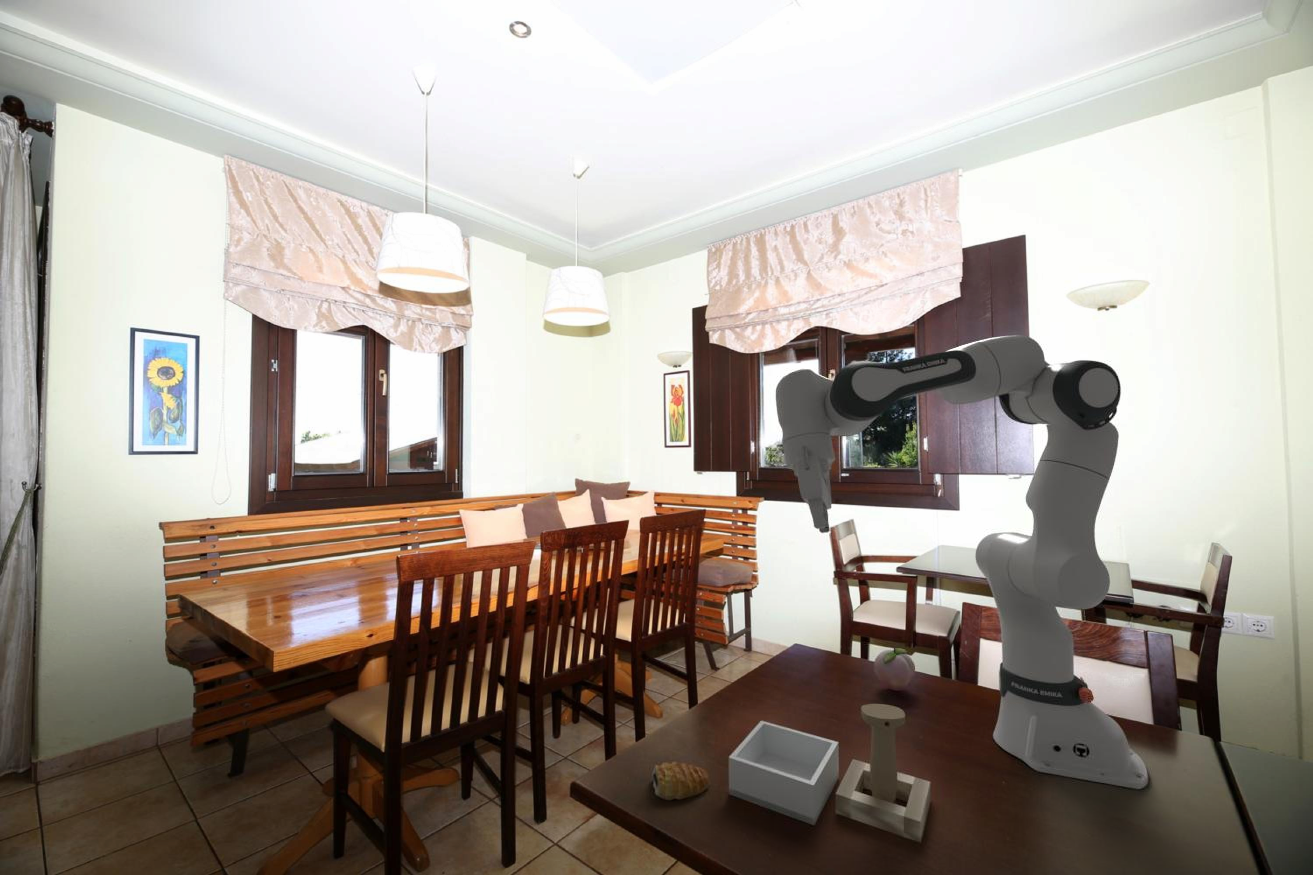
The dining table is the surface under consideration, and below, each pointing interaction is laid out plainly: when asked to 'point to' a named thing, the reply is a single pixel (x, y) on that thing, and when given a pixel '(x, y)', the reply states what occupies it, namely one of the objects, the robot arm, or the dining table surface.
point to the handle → (883, 748)
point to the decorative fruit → (894, 668)
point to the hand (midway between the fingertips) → (822, 530)
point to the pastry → (679, 780)
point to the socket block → (884, 802)
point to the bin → (785, 771)
